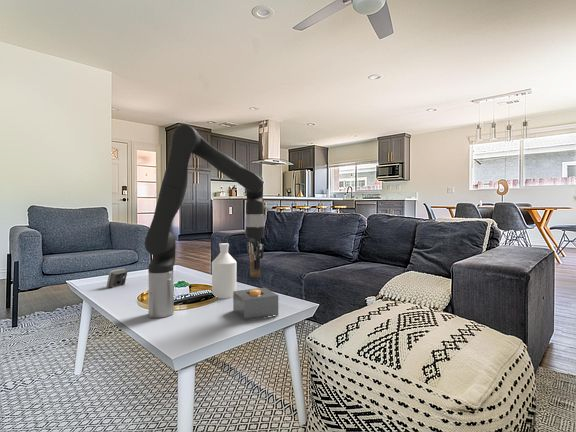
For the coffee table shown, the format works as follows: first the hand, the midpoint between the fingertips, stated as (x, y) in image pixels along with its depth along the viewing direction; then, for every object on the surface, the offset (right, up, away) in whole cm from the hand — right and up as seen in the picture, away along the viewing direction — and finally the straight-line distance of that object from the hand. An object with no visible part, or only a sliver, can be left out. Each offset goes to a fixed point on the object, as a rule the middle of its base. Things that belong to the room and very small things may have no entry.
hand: (255, 268), depth 130 cm
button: (0, -15, 0) cm, 15 cm away
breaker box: (0, -18, 0) cm, 18 cm away
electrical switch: (-79, -17, +46) cm, 93 cm away
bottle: (-18, -18, +27) cm, 37 cm away
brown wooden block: (0, -3, 0) cm, 3 cm away
